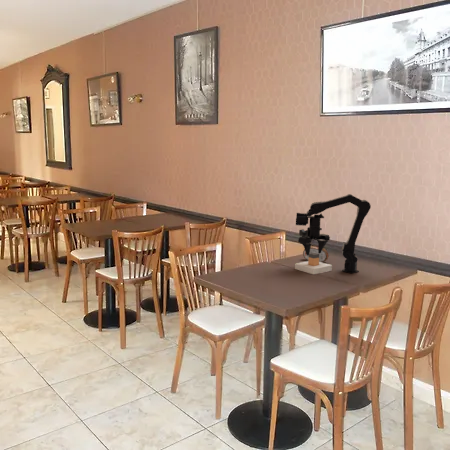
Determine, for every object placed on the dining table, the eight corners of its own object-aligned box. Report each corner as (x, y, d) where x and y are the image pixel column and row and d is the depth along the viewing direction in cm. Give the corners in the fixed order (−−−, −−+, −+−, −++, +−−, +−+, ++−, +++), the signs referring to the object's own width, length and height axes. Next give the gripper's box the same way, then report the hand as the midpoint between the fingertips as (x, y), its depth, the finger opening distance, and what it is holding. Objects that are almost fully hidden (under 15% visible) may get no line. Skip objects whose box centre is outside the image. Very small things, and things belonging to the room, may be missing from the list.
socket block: (313, 265, 272) (313, 260, 271) (331, 270, 260) (332, 265, 260) (295, 268, 264) (295, 263, 263) (313, 274, 252) (313, 269, 252)
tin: (328, 262, 278) (329, 248, 277) (326, 263, 276) (327, 249, 274) (304, 259, 286) (304, 245, 285) (302, 260, 284) (302, 246, 282)
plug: (313, 268, 265) (313, 252, 263) (318, 270, 261) (319, 254, 260) (308, 269, 262) (308, 253, 261) (313, 271, 259) (314, 254, 258)
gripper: (316, 222, 270) (314, 249, 272) (291, 225, 259) (290, 253, 262) (331, 225, 261) (329, 253, 263) (306, 228, 250) (305, 257, 253)
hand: (313, 254), depth 260 cm, fingers open, 9 cm apart
